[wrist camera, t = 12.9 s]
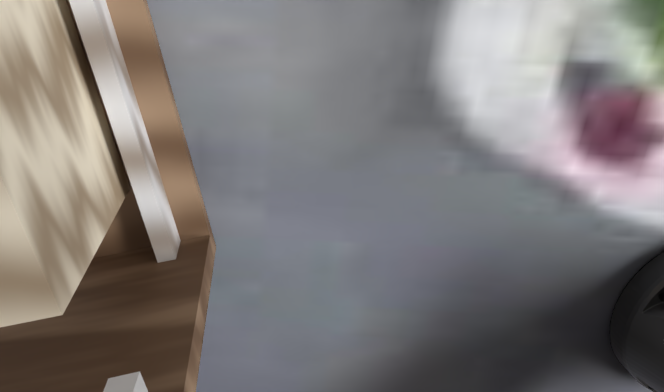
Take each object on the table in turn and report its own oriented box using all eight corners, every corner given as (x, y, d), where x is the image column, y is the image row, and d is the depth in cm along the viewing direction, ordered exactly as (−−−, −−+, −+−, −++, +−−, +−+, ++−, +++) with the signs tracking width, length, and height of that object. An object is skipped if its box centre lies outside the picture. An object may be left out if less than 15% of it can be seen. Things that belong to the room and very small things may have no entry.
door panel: (130, 188, 37) (62, 314, 24) (77, 198, 37) (-19, 331, 24) (24, -121, 29) (-153, -172, 17) (-43, -109, 29) (-274, -153, 17)
